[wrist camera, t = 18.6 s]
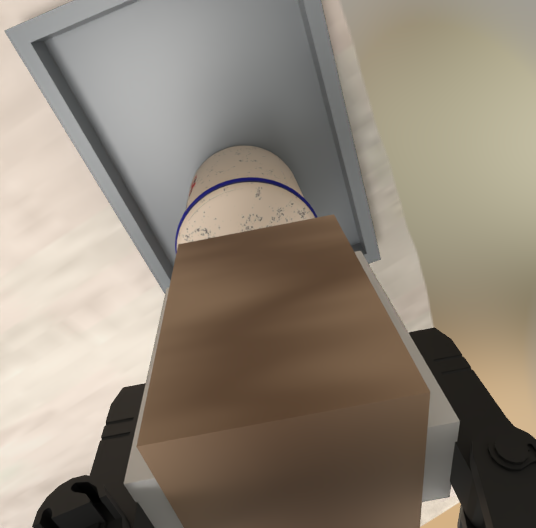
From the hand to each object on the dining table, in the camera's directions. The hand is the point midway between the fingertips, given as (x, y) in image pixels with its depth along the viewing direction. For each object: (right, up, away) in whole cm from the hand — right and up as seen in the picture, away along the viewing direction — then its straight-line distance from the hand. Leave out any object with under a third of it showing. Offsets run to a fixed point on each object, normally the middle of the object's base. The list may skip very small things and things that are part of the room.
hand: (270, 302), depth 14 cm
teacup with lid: (-2, +5, +19) cm, 20 cm away
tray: (-3, +10, +17) cm, 20 cm away
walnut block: (0, 0, 0) cm, 0 cm away
